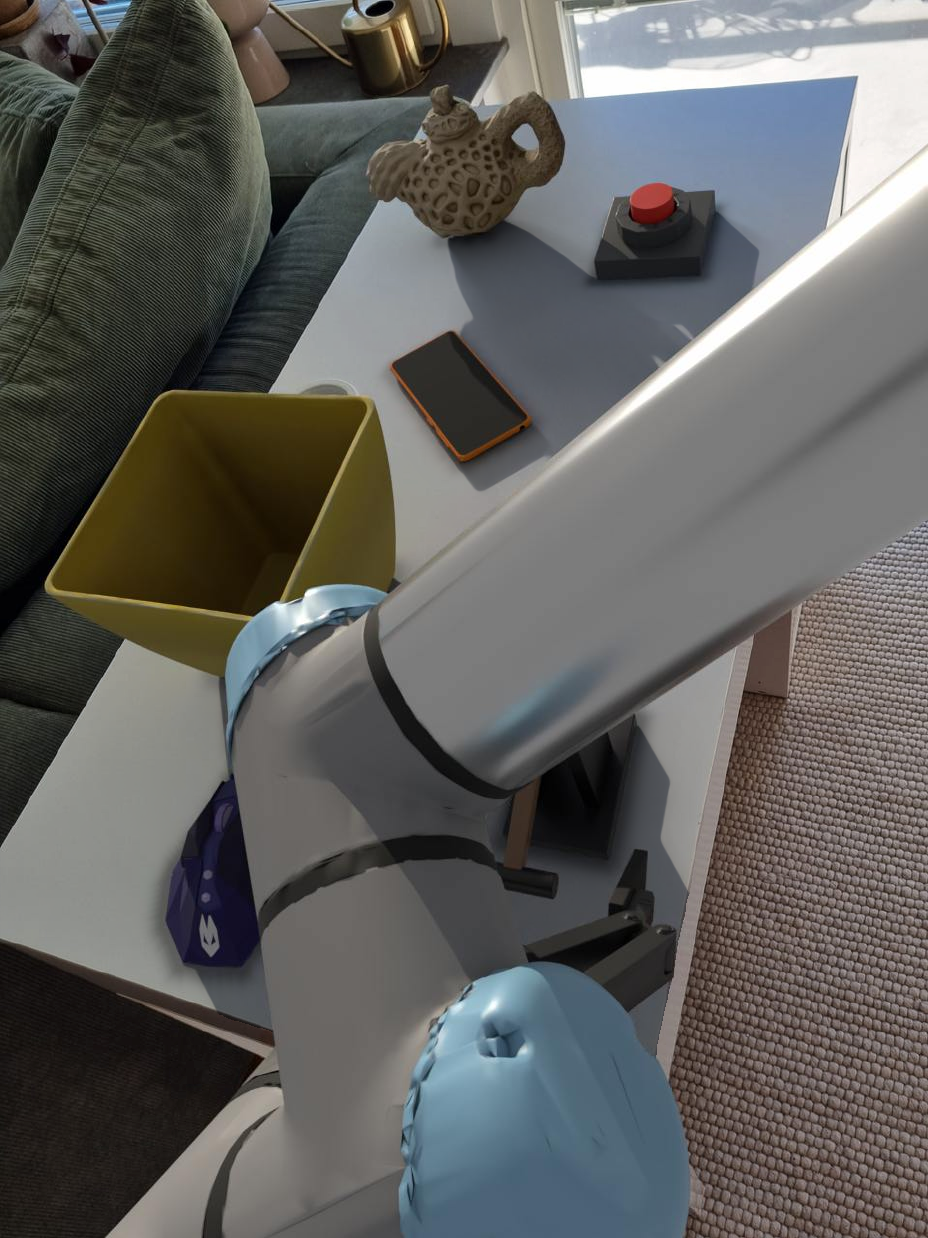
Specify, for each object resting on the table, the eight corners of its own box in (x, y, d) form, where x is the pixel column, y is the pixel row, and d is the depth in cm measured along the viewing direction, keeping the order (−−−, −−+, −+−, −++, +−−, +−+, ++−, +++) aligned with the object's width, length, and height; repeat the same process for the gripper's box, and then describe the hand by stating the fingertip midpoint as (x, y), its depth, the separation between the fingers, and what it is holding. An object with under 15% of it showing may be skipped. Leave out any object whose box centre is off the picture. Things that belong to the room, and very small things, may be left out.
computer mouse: (145, 961, 65) (113, 945, 62) (204, 763, 73) (178, 740, 69) (266, 970, 62) (239, 955, 59) (313, 764, 70) (292, 740, 67)
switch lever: (558, 900, 53) (547, 899, 51) (475, 883, 55) (462, 881, 52) (591, 690, 56) (582, 681, 53) (511, 681, 57) (500, 671, 55)
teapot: (379, 271, 102) (328, 140, 90) (398, 207, 108) (352, 76, 96) (573, 244, 96) (546, 99, 84) (581, 177, 102) (557, 33, 90)
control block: (715, 209, 93) (713, 172, 90) (700, 275, 88) (698, 239, 85) (616, 215, 97) (611, 180, 94) (597, 280, 92) (590, 244, 89)
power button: (677, 197, 90) (676, 180, 89) (670, 223, 88) (669, 207, 87) (636, 200, 92) (634, 184, 90) (628, 226, 90) (626, 210, 88)
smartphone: (454, 332, 93) (452, 326, 92) (535, 425, 83) (533, 418, 83) (388, 369, 93) (385, 363, 92) (461, 467, 83) (459, 460, 82)
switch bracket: (609, 860, 60) (577, 779, 50) (506, 840, 63) (455, 760, 53) (637, 721, 65) (613, 622, 55) (540, 709, 68) (500, 611, 57)
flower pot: (368, 744, 70) (272, 623, 56) (163, 706, 77) (35, 590, 63) (445, 541, 79) (379, 394, 65) (255, 524, 86) (160, 389, 72)
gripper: (131, 1085, 42) (358, 870, 62) (673, 1268, 34) (738, 950, 53) (118, 935, 41) (356, 763, 60) (685, 1087, 32) (748, 828, 51)
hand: (535, 851), depth 57 cm, fingers open, 12 cm apart
